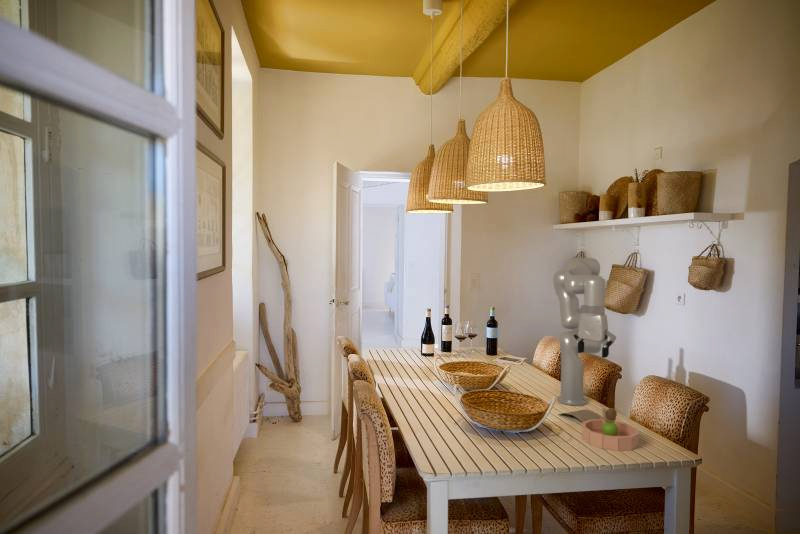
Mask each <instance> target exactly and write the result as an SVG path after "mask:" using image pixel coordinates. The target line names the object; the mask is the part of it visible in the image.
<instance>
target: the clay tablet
mask: <svg viewBox="0 0 800 534" xmlns="http://www.w3.org/2000/svg"><path fill="white" fill-rule="evenodd" d="M560 414H562V415H570V416H573V417H575V418H576V419H578V420H579V421H580V422H581V423H582V422H585V421H587V420H592V419H604V418H603V415H601V414H599V413H597V412H594V411H593V410H590V409H586V408H585V409H580V410H575V411H569V412H563V413H560ZM560 414H558V416H561V415H560Z"/></svg>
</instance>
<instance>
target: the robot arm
mask: <svg viewBox="0 0 800 534" xmlns="http://www.w3.org/2000/svg"><path fill="white" fill-rule="evenodd" d="M600 273H601V264H600V262H599V261H598V260H597V259H596V258H592V257H574V258H573V257H572V258H570V259H568V260H567V261H565V264H564V269H562V270H561V269H560V270H558V271H556V272H554V274H553V277H552V278H553V279H552V280H553V281H552V283H553V287H554V288H553V289H554V291H555V294H556V296H557V298H558V302H559V311H560V322H561V326H562V327H563V329H567V331H563V332H561V334H560V335H559V348H560V361H561V362H560V366H561V367H560V395H558V396H557V397H556V401H557V402H558V403H560V404H563V405H565V406H574V407H575V406H579V407H581V406H585V405H587V402H588V401H587V399H586V398H585V397H584V396H586V395H588V391H587V390H585V389H584V371H585V370H584V368H585V367H584V364H585V363H584V362H583V360H582V358H581V357H580V356H579V355H578V354H597V353H600V351H601V358H608V356H609V354H610V353H609V351H610V347H611V346H612V345H613V344H614V343H615V340H616V339H617V336H616V335H615V334H614V333H612V332H611V331H609V323H608V316H607V314H606V313H605V312H606V286H607V281H606V279H605V278H603V276H600ZM577 295H583V305H581V306H580V303H579V302H580V300H579V298H578V297H577ZM569 330H570V331H569ZM609 338H610V339H609ZM608 339H609V340H608Z"/></svg>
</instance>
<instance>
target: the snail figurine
mask: <svg viewBox="0 0 800 534" xmlns="http://www.w3.org/2000/svg"><path fill="white" fill-rule="evenodd" d="M601 412H602V417H603V418H604V420H605V421H606V422H605V423H604V424H603V426H602V432H603V434H604V435H610V436H616V435H617V434H618V427H617V425H616V424H615V423H613V422H614V421H617V420H616V419H617V414H618V413H617V410H616V409H615V408H613V407H609V408H608V409H606V408H605V405H604V404H603V403H602V404H601Z"/></svg>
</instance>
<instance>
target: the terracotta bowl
mask: <svg viewBox="0 0 800 534" xmlns="http://www.w3.org/2000/svg"><path fill="white" fill-rule="evenodd" d="M605 422H606V421H605V420H604V419H592V420H587V421H585V422H582V421H581V440H582V441H584V442H585V443H587V444H588V445H590V446H593V447H595V448H599V449H603V450H607V449H608V451H615V452H621V451H622V452H624V451H625V452H626V451H633V450H635V449H637V448H639V445H640V432H639V429H638V428H636V427H635V426H633V425H631V424H629V423H625V422H622V421H618V420H615V421H614V422H613V423H615V424H616V425H617V427H618V434H617V435H616V436H610V435H604V434H603V432H602V426H603V424H604V423H605Z"/></svg>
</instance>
